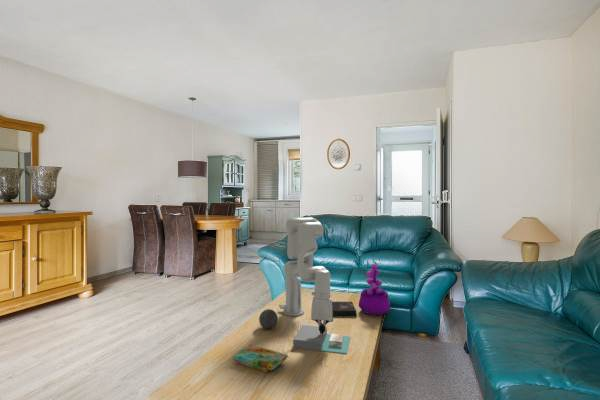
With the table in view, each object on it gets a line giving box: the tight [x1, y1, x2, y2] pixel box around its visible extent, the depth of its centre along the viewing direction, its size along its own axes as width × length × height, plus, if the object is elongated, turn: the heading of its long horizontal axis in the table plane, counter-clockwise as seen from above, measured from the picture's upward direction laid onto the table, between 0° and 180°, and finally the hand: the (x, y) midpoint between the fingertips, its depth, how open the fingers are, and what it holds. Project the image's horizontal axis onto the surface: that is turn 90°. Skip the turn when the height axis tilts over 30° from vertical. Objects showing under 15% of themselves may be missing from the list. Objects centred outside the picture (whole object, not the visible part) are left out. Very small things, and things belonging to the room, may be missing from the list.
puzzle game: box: [232, 344, 289, 373], centre depth 141 cm, size 12×5×20 cm
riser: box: [292, 324, 328, 352], centre depth 162 cm, size 13×18×4 cm
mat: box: [320, 333, 351, 355], centre depth 159 cm, size 12×18×1 cm, turn 166°
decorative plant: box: [358, 263, 391, 316], centre depth 201 cm, size 19×18×30 cm
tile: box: [329, 333, 345, 347], centre depth 159 cm, size 6×8×2 cm
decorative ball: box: [258, 308, 279, 330], centre depth 178 cm, size 10×10×10 cm
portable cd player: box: [332, 301, 358, 318], centre depth 203 cm, size 16×17×4 cm
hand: (322, 332), depth 160 cm, fingers closed
